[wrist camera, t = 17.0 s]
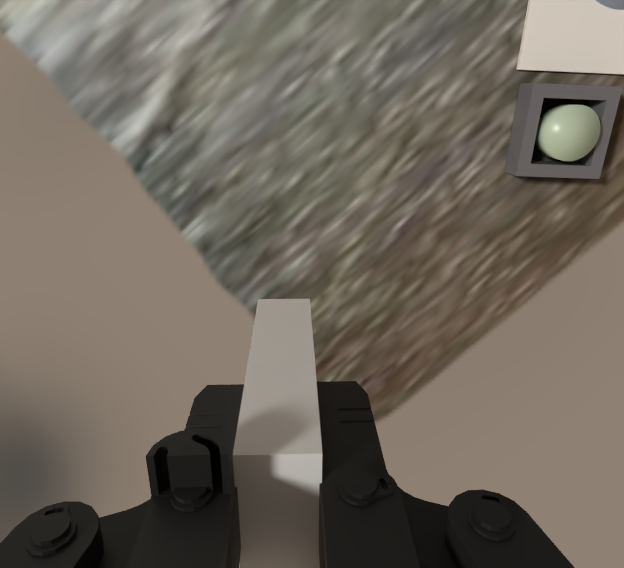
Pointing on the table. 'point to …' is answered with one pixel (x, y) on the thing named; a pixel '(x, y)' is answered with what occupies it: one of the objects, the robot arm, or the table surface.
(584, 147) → the button
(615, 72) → the paper sheet
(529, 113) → the button housing
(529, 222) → the table surface
